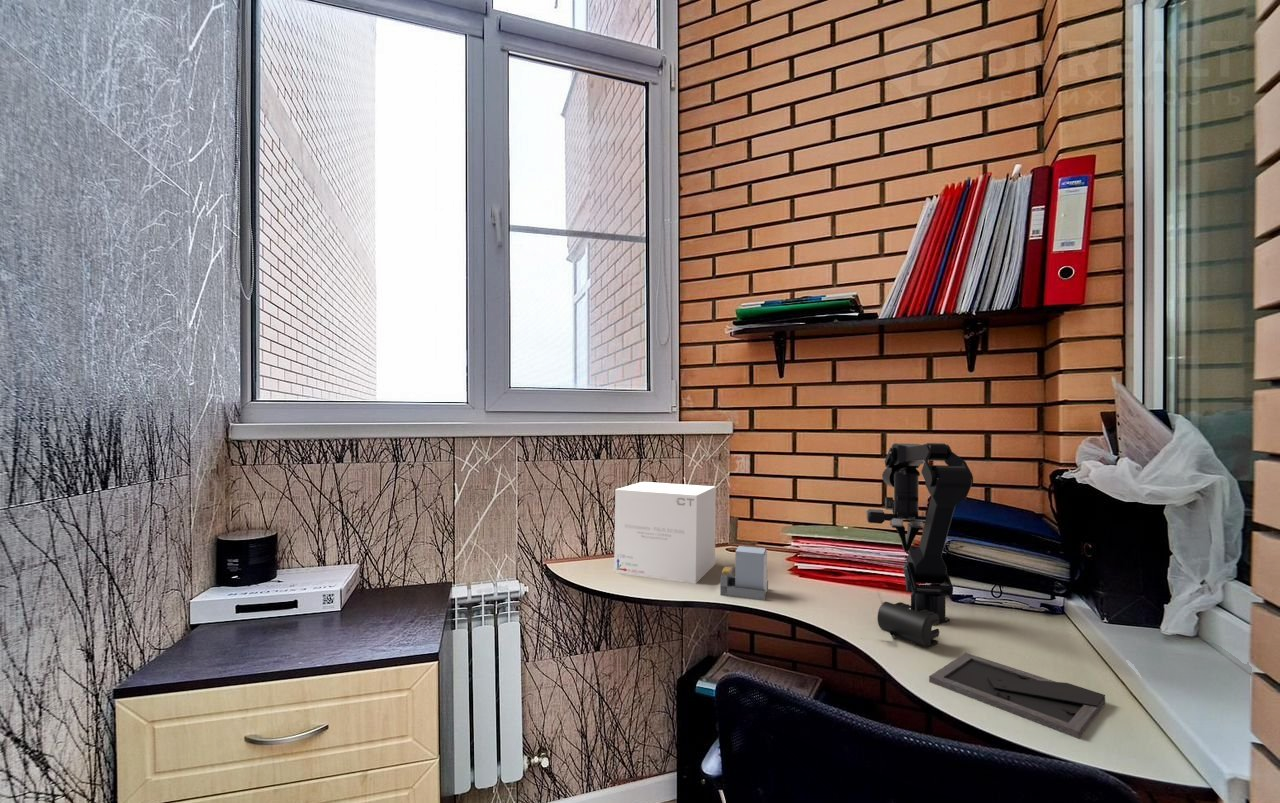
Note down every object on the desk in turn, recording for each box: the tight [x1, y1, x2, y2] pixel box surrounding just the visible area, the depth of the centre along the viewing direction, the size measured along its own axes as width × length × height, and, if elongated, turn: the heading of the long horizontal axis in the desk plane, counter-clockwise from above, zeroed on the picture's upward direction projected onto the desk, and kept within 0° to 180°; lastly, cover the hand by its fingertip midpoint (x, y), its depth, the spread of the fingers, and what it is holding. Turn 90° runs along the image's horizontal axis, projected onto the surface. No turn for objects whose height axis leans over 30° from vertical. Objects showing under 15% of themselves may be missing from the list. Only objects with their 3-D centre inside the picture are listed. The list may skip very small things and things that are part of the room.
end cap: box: [876, 601, 941, 649], centre depth 114 cm, size 10×7×7 cm
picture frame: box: [928, 652, 1106, 740], centre depth 92 cm, size 16×2×21 cm
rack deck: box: [719, 566, 769, 601], centre depth 137 cm, size 24×10×7 cm, turn 72°
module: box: [734, 545, 768, 595], centre depth 139 cm, size 7×6×11 cm
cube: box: [613, 481, 717, 585], centre depth 164 cm, size 25×21×24 cm
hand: (906, 551), depth 140 cm, fingers closed
